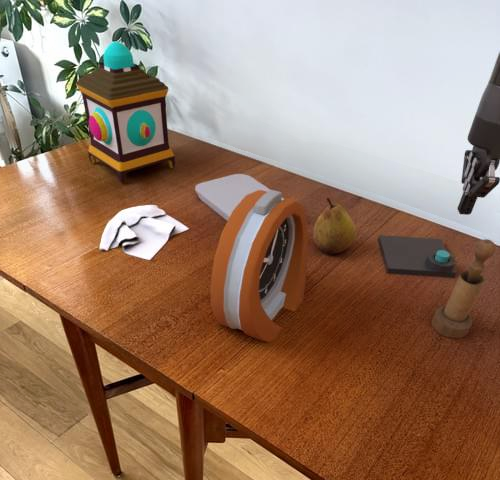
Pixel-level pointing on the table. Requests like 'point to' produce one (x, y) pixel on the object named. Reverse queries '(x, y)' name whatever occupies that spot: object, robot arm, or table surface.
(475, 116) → the robot arm
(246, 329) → the alarm clock
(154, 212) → the cloth
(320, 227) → the fruit
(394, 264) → the kitchen scale
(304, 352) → the table surface
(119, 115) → the decorative lantern
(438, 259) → the button
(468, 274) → the mortar and pestle
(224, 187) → the tablet
